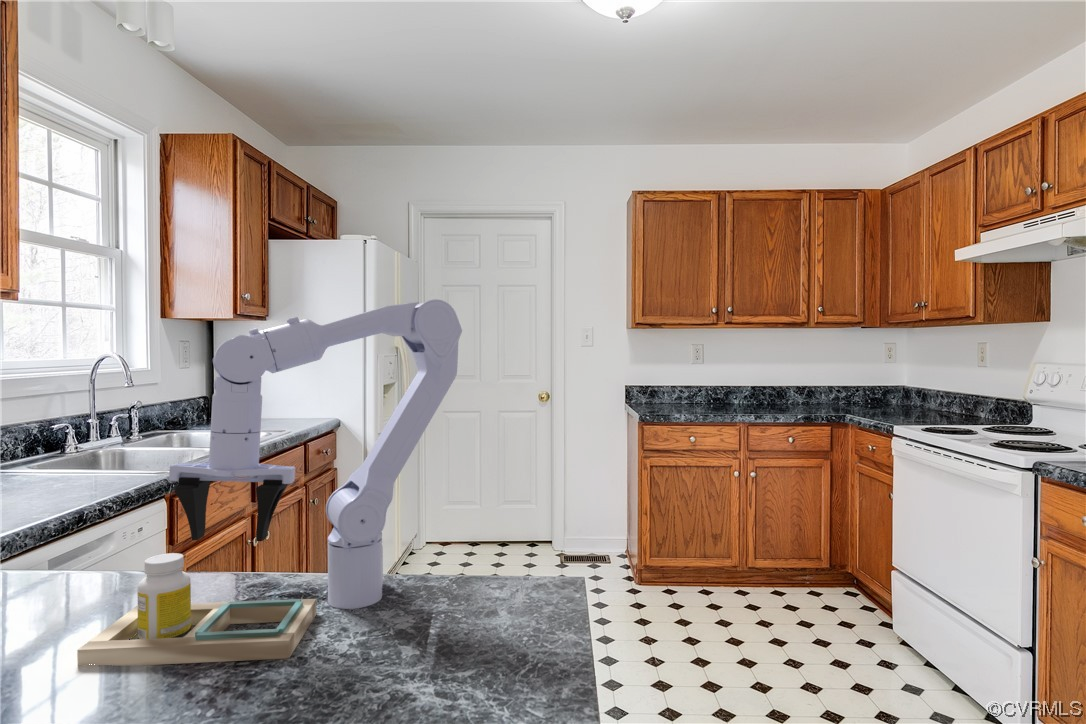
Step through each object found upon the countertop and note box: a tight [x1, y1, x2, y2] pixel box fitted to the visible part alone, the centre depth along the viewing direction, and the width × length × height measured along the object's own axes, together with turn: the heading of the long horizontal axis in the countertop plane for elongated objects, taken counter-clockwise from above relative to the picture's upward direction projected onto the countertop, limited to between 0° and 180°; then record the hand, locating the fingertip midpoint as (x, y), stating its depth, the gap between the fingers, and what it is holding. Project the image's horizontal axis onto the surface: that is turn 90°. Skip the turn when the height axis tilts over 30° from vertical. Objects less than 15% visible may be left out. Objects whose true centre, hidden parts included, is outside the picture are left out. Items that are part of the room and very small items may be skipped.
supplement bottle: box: [137, 552, 192, 639], centre depth 75 cm, size 5×5×10 cm
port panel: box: [76, 598, 318, 667], centre depth 75 cm, size 12×22×2 cm, turn 96°
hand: (230, 538), depth 80 cm, fingers open, 7 cm apart
